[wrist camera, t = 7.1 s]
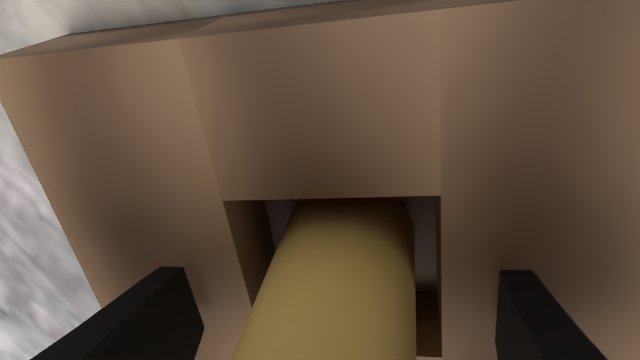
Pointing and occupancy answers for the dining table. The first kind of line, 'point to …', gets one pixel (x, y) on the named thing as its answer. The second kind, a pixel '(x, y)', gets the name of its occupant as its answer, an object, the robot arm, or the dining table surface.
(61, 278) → the dining table surface
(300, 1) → the dining table surface
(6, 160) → the dining table surface
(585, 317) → the bore block
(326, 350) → the pin
